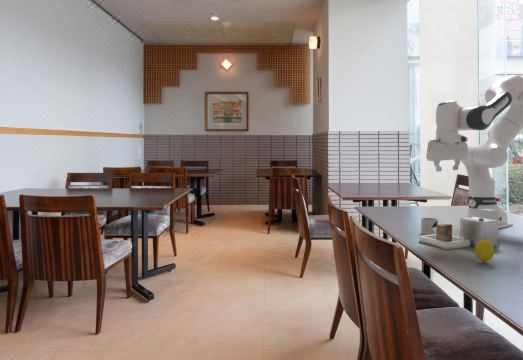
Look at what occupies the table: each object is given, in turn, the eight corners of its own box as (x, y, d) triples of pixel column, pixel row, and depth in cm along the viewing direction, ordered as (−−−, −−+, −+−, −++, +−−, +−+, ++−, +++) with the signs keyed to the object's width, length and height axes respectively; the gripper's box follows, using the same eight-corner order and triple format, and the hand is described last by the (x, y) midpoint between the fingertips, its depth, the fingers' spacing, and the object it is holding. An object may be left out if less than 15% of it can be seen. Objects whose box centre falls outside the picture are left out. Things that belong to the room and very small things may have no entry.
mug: (435, 236, 180) (436, 220, 180) (419, 234, 184) (419, 219, 184) (440, 232, 189) (440, 217, 188) (424, 230, 192) (424, 216, 192)
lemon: (470, 260, 140) (471, 237, 139) (486, 260, 140) (487, 236, 140) (480, 265, 134) (481, 240, 134) (497, 264, 135) (498, 240, 134)
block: (443, 240, 168) (443, 222, 167) (451, 242, 164) (452, 224, 163) (436, 241, 166) (436, 223, 165) (444, 243, 162) (444, 225, 162)
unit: (474, 240, 170) (475, 214, 169) (499, 246, 160) (500, 218, 159) (457, 242, 167) (457, 215, 166) (481, 248, 156) (482, 220, 156)
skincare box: (499, 239, 173) (500, 210, 172) (491, 240, 171) (492, 210, 170) (485, 236, 179) (486, 208, 178) (478, 237, 177) (479, 208, 176)
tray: (442, 239, 174) (442, 233, 173) (470, 246, 161) (470, 240, 160) (419, 241, 169) (419, 235, 169) (445, 249, 156) (446, 242, 156)
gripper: (433, 139, 175) (433, 172, 176) (470, 137, 182) (470, 169, 184) (422, 139, 181) (423, 171, 182) (458, 138, 188) (459, 169, 189)
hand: (447, 170), depth 183 cm, fingers open, 8 cm apart
